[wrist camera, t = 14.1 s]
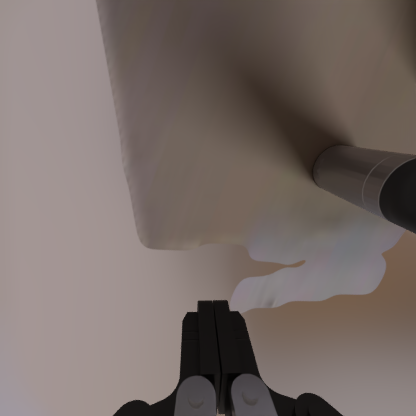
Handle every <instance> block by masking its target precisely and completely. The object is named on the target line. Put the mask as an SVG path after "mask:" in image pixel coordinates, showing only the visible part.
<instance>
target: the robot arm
mask: <svg viewBox="0 0 416 416" xmlns="http://www.w3.org/2000/svg"><path fill="white" fill-rule="evenodd" d="M313 177H314V180H315V182H316V184H317V185H318V186H319V187H320V188H322V189H324V190H326V191H328V192H330V193H332V194H334V195H336V196H338V197H340V198H342V199H344V200H346V201H348V202H351V203H353V204H355V205H357V206H359V207H361V208H363V209H365V210H367V211H369V212H371V213H373V214H375V215H378V216H380V217H382V218H384V219H386V220H388V221H390V222H392V223H394V224H396V225H398V226H401V227H403V228H405V229H407V230H409V231H411V232H413V233H415V234H416V155H411V154H403V153H395V152H388V151H380V150H373V149H366V148H358V147H351V146H344V145H337V146H333V147H330V148H328V149H326V150H325V151H324V152H323V153H321V154H320V156H319V157H318V158H317V160H316V162H315V164H314V168H313ZM217 408H218V413H219V414H225V416H343V415H342V414H340V413H339V412H338V411H337V410H336V409H334V408H333V407H332V406H331V405H330V404H328V403H327V402H326V401H325V400H324V399H322V398H321V397H319V396H317V395H315V394H312V393H304V394H301V395H300V396H299V397H298V398H297V400H296V399H293V398H290V397H287V396H284V395H281V394H278V393H276V392H274V391H273V390H271V389H270V388H269V387H268V386H267V385H266V384H265V383H264V381H263V380H262V378H261V377H260V374H259V371H258V368H257V364H256V360H255V356H254V353H253V349H252V346H251V341H250V339H249V334H248V331H247V327H246V323H245V320H244V318H243V317H242V316H241V314H240V313H239V312H238V311H230V310H229V305H228V301H227V300H213V303H212V301H198V307H197V312H187V314H186V316H185V317H184V319H183V323H182V343H181V364H180V379H179V382H178V385H177V387H176V389H175V390H174V391H173V393H172V394H171V395H170V396H168V397H167V398H165V399H164V400H161V401H159V402H157V403H155V404H152V405H149V404H147V403H146V402H144V401H141V400H134V401H131V402H128V403H126V404H124V405H123V406H122V407H121V408H120V409H119V410H118V411H117V412H116V413H115V414H114V415H113V416H216V414H217Z"/></svg>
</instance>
